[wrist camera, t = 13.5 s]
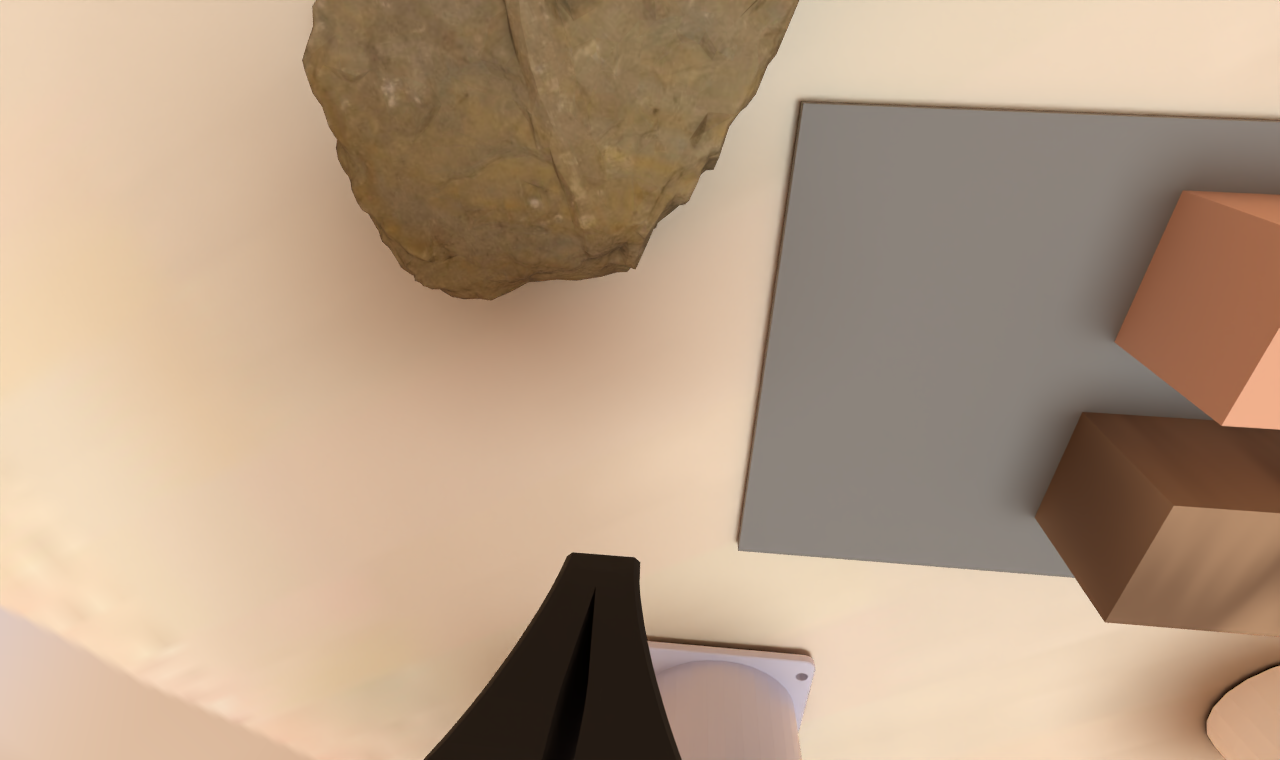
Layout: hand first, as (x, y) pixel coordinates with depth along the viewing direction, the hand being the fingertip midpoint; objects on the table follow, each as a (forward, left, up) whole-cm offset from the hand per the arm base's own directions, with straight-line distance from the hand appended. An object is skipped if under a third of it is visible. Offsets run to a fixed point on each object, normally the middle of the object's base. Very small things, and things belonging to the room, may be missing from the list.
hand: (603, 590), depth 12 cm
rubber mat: (0, -14, -10) cm, 17 cm away
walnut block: (-3, -14, -7) cm, 16 cm away
